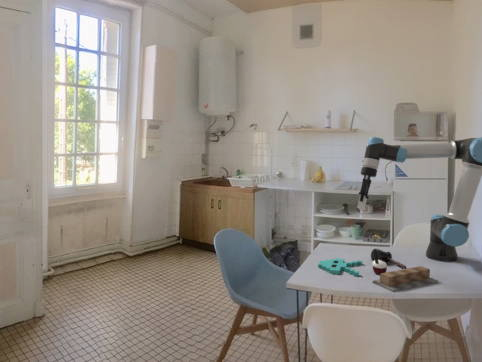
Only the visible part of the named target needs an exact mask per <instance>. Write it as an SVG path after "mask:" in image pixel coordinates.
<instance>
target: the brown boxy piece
mask: <svg viewBox="0 0 482 362" xmlns="http://www.w3.org/2000/svg"><path fill="white" fill-rule="evenodd" d="M438 282H439V281H438V279H435V278H432V277H431V270H430V268H428V267H424V266H415V267H409V268H406V269H404V268H402V269H397V270H393V271H386V273H381V274H380V275H379V279H375V280H374V279H373V280H372V283H373V284H376V285H377V286H380V287H381V288H383V289H386V290H388V291H390V292H392V293H393V292H397V291H401V290H402V291H403V290H408V289H412V288H416V287H417V288H418V287H422V286H426V285H430V284H436V283H438Z"/></svg>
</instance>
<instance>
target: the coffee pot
mask: <svg viewBox="0 0 482 362" xmlns="http://www.w3.org/2000/svg"><path fill="white" fill-rule="evenodd" d="M373 250H375V251H377V257H378V260H381V261H383V262H392V263H393V264H395V265H397V266H398V267H399V268H401V269H408V268H407V266H406V265H405V264H403V263H401V262H399V261H396V260H394V259H393V255H392V253H391V252H390V251H384V250H382V249H380V248H373V249H372V251H371V252H370V258H371V261H372V262H373V261H374V260H375V258H374V252H373Z"/></svg>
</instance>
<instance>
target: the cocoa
mask: <svg viewBox="0 0 482 362" xmlns="http://www.w3.org/2000/svg"><path fill="white" fill-rule="evenodd" d="M372 250H373V249H372ZM373 252H374V258H375V260H374V261H372V262H371V263H372V264H371V265H372V271H373V272H374V273H375V274H376V275H379V276H380V274H381V273H386V272H387V270H388V265H387V263H386V261H381V260H378V257H377V251H375V250H373Z"/></svg>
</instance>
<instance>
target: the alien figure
mask: <svg viewBox="0 0 482 362" xmlns="http://www.w3.org/2000/svg"><path fill="white" fill-rule="evenodd" d="M353 266H354V267H357V266H363V260H361V259H357V260H353V261H347V262H345V258H339V257H337V258H336V257H335V259H334V258H330V259H325V260H319V262H318V264H317V267H318V269H321V270H322V269H325V270H324V271H325V272H326V271H329V272H328V273H329V274H330V273H333V274H332V275H340V273H341V271H344V272H345V273H348V274H349V275H353V277H359V276H360V271H358V270H355V269H354V268H352V267H353Z"/></svg>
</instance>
